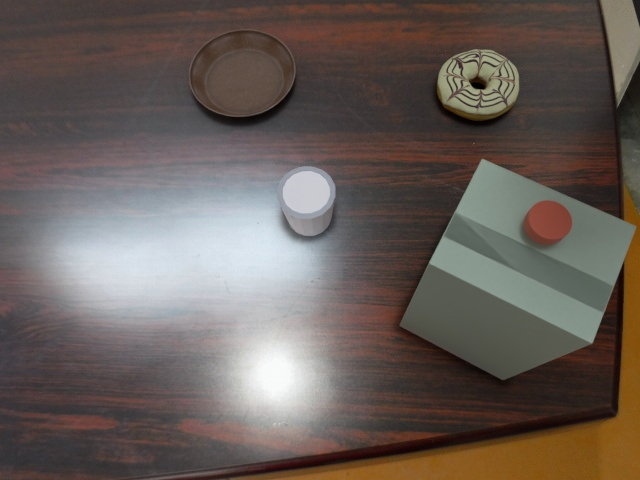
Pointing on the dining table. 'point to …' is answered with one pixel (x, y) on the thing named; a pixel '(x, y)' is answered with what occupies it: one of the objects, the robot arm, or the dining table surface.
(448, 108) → the decorated donut
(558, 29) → the dining table surface
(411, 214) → the dining table surface
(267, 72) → the saucer
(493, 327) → the box with red button
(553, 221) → the brew button
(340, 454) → the dining table surface
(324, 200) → the white short cylinder
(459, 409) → the dining table surface
